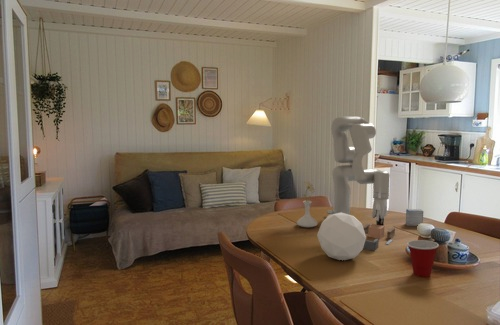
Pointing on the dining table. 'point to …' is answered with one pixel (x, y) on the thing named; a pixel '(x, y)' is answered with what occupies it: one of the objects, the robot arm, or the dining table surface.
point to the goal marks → (389, 241)
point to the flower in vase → (307, 210)
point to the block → (376, 231)
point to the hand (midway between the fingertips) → (379, 230)
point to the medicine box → (414, 217)
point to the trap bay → (371, 245)
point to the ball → (341, 236)
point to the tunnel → (389, 233)
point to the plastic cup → (422, 256)
